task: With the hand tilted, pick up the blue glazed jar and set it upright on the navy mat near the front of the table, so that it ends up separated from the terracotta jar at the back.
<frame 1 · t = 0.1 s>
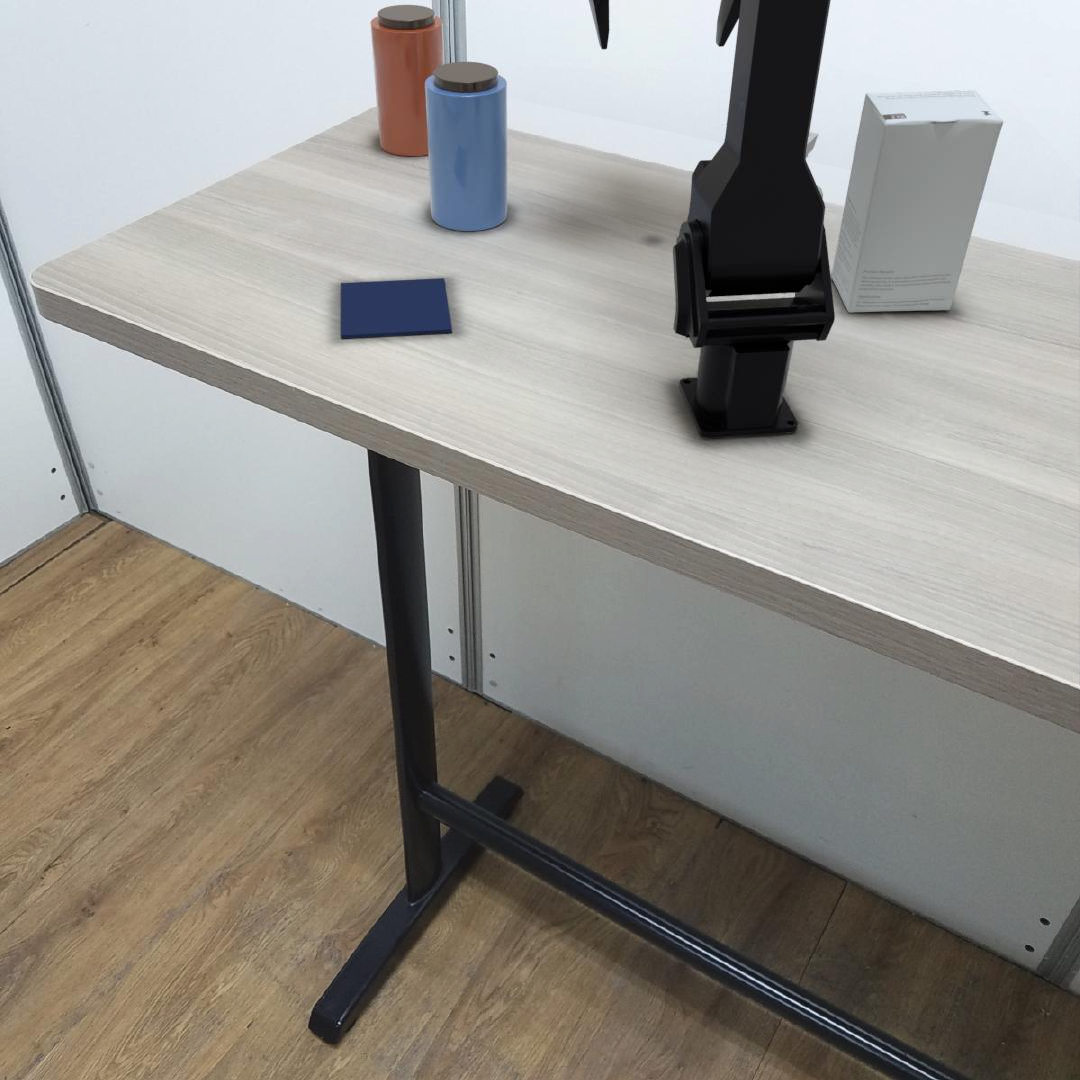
hand: (661, 46, 84), 15 cm above the table, tool pointing down, fingers open, 9 cm apart
blue jar: (469, 215, 94), on the table
cosmetic box: (886, 298, 84), on the table
terracotta jar: (413, 143, 106), on the table
blue mat: (394, 308, 81), on the table
stamp: (766, 234, 93), on the table
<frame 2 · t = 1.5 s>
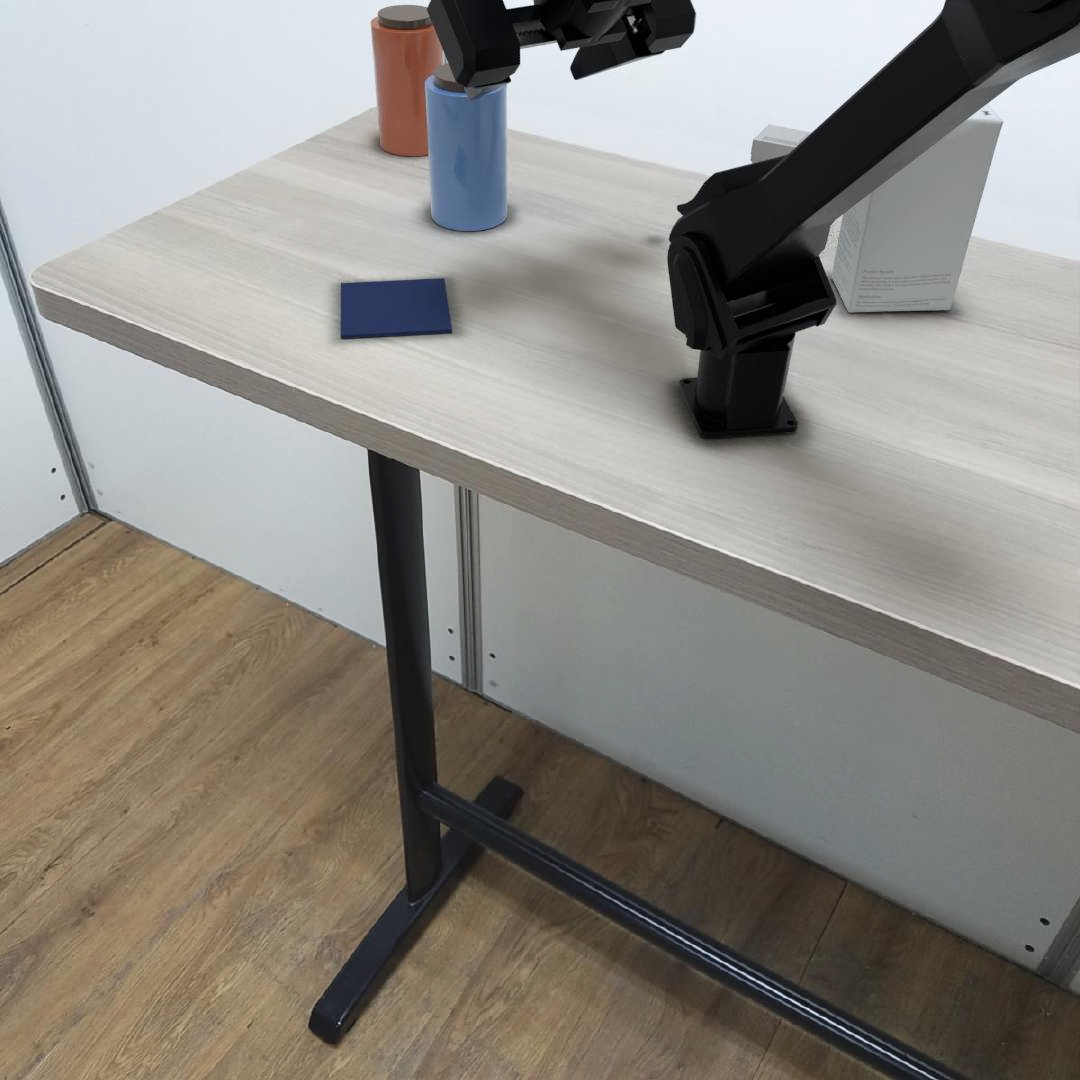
hand: (522, 83, 80), 13 cm above the table, tool tilted 45°, fingers open, 9 cm apart
nothing on the table moved.
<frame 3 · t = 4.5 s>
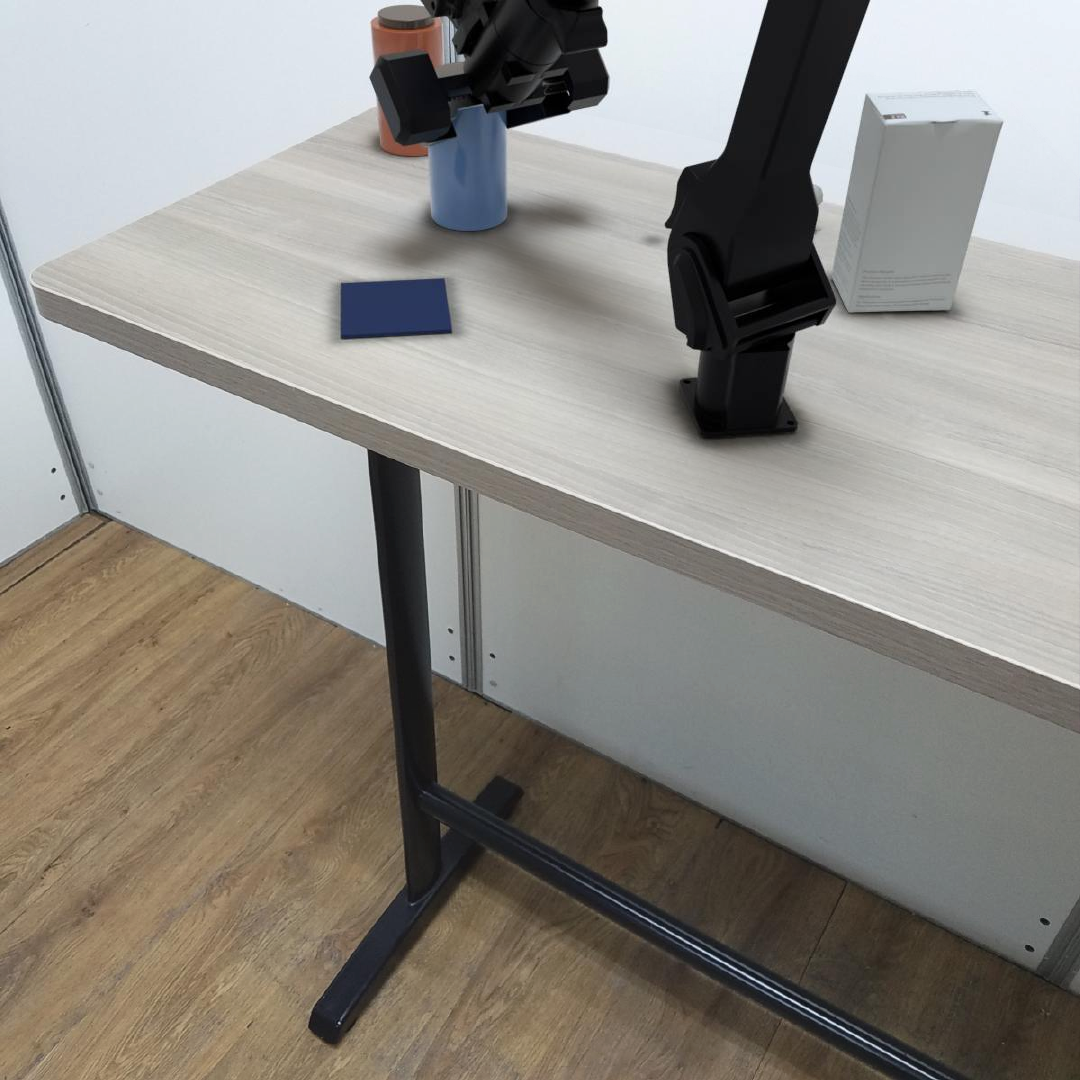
hand: (459, 133, 91), 7 cm above the table, tool tilted 45°, fingers closed on blue jar, 6 cm apart
blue jar: (469, 215, 94), on the table, touching gripper
everything else where it was.
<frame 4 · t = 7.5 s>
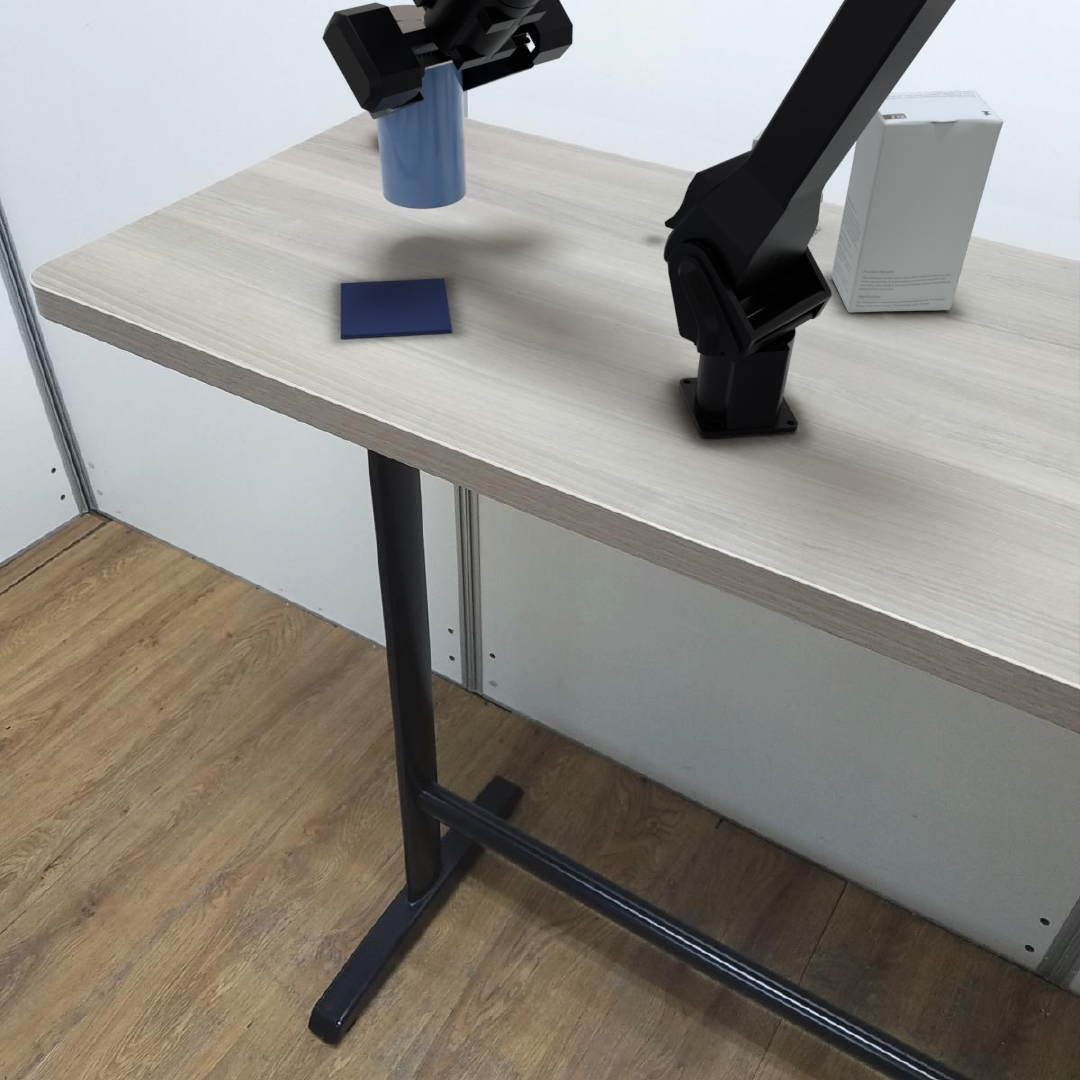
hand: (408, 102, 82), 12 cm above the table, tool tilted 45°, fingers closed on blue jar, 6 cm apart
blue jar: (424, 192, 85), point 5 cm above the table, touching gripper
everything else where it was.
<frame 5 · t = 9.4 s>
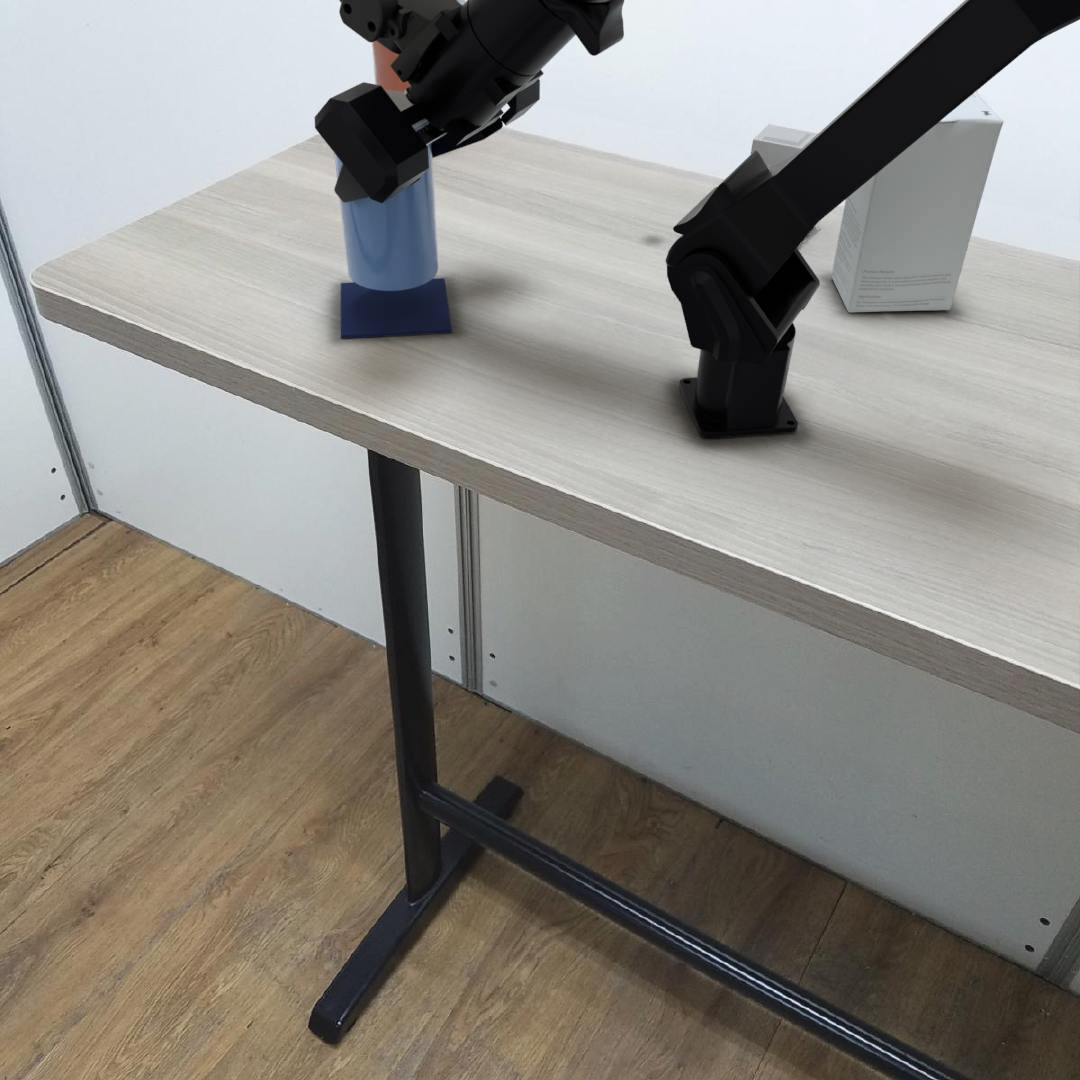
hand: (370, 178, 75), 10 cm above the table, tool tilted 45°, fingers closed on blue jar, 6 cm apart
blue jar: (393, 270, 79), point 3 cm above the table, touching gripper
everything else where it was.
when the fingers open (7 cm above the table, at t = 10.8 s): blue jar stays where it is, resting on blue mat.
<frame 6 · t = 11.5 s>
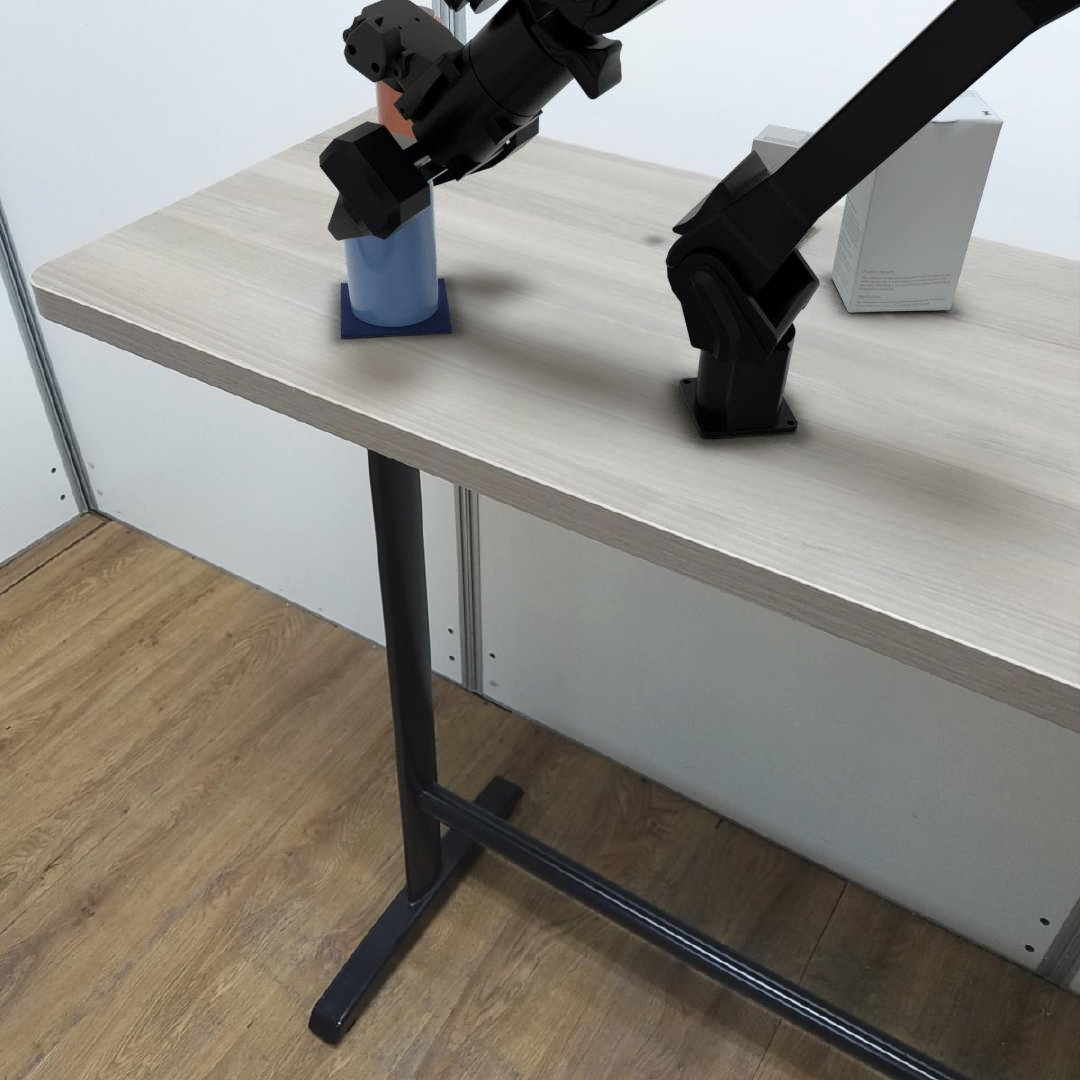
hand: (372, 209, 77), 8 cm above the table, tool tilted 45°, fingers open, 9 cm apart
blue jar: (395, 305, 81), resting on blue mat
everything else where it was.
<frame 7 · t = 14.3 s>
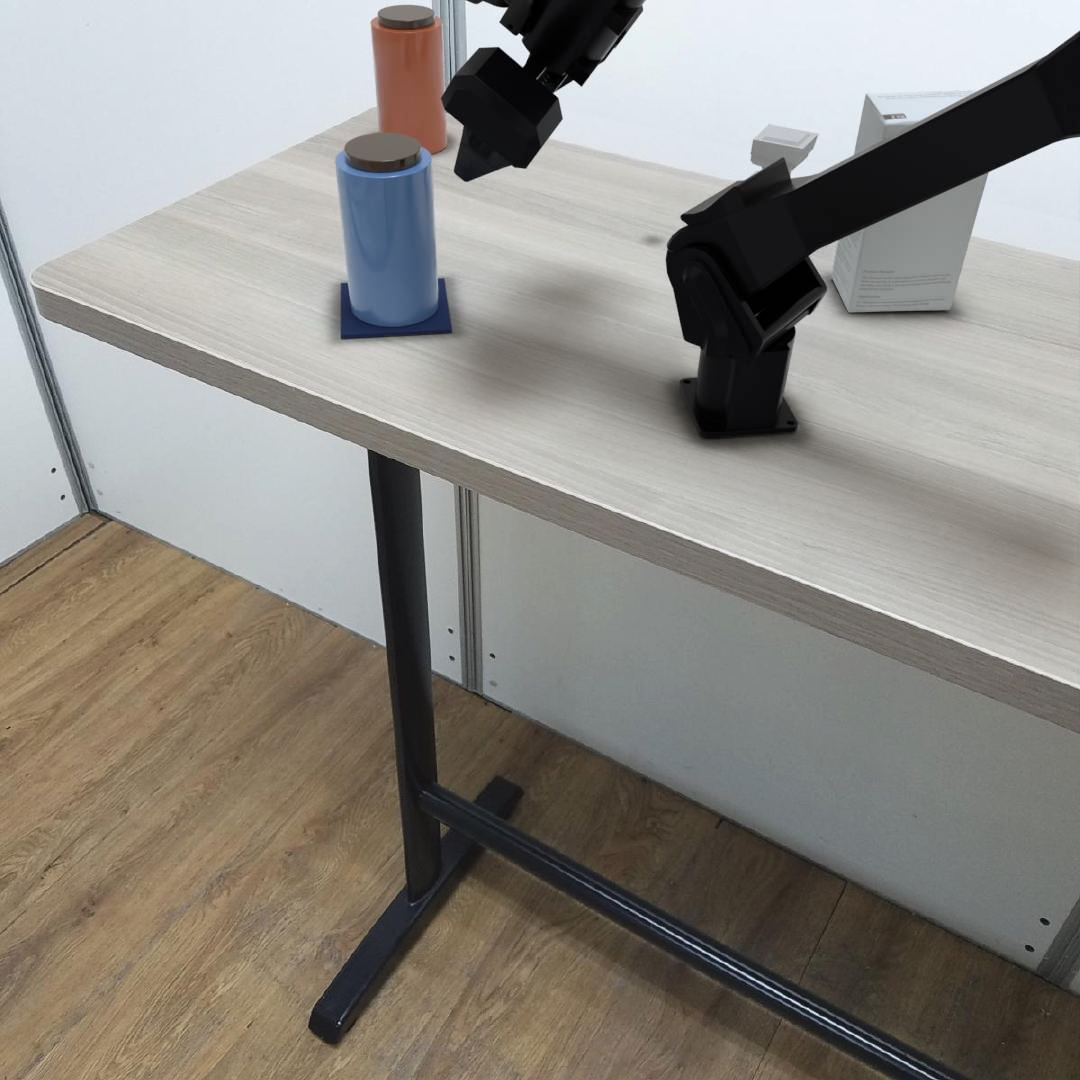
hand: (489, 140, 73), 13 cm above the table, tool tilted 35°, fingers open, 9 cm apart
nothing on the table moved.
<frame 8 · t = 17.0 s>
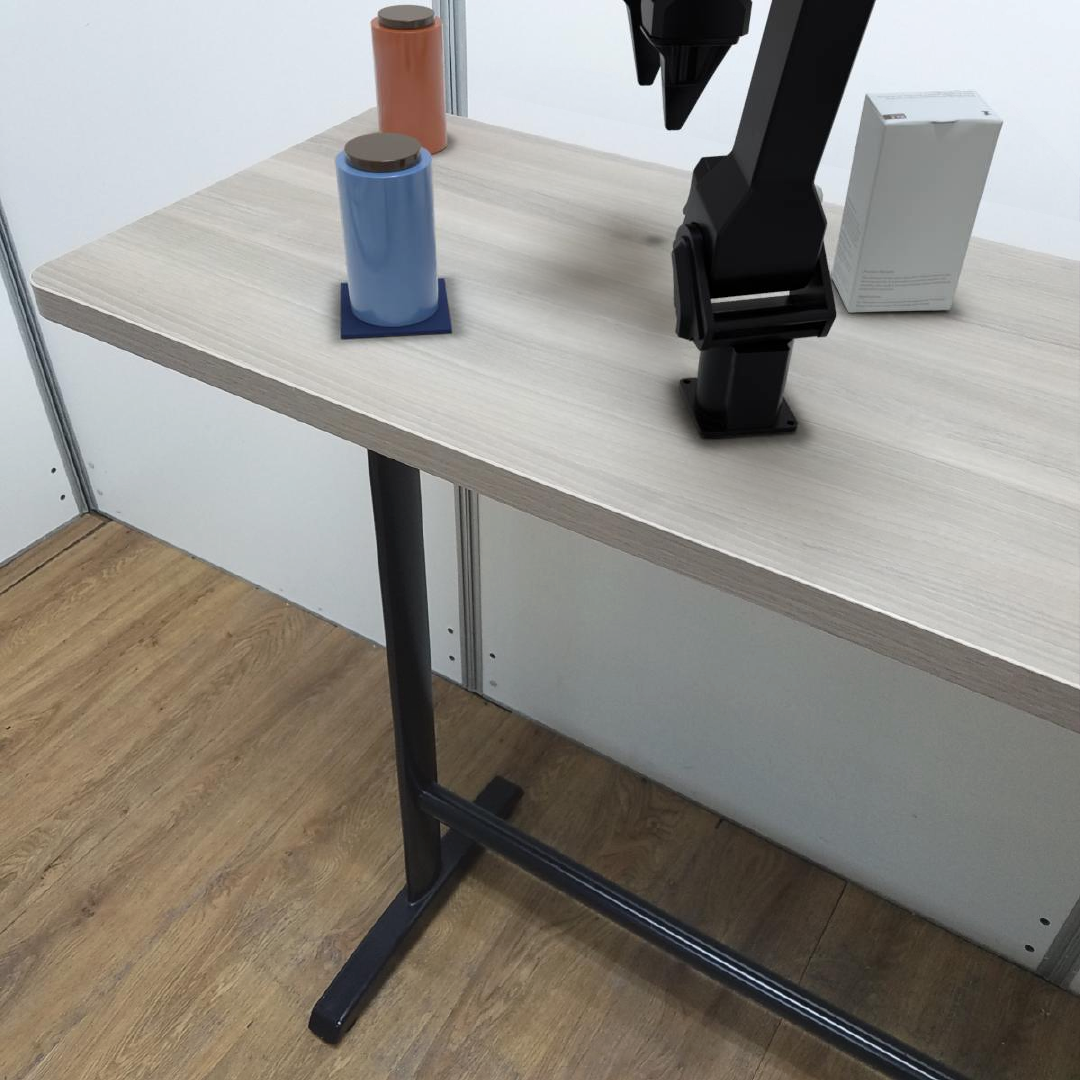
hand: (658, 106, 78), 13 cm above the table, tool pointing down, fingers open, 9 cm apart
nothing on the table moved.
at the end: blue jar 0.0 cm off-centre on the blue mat, point 0.3 cm above the blue mat's base; blue jar tilted 0°; terracotta jar moved 0.0 cm from its start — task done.
